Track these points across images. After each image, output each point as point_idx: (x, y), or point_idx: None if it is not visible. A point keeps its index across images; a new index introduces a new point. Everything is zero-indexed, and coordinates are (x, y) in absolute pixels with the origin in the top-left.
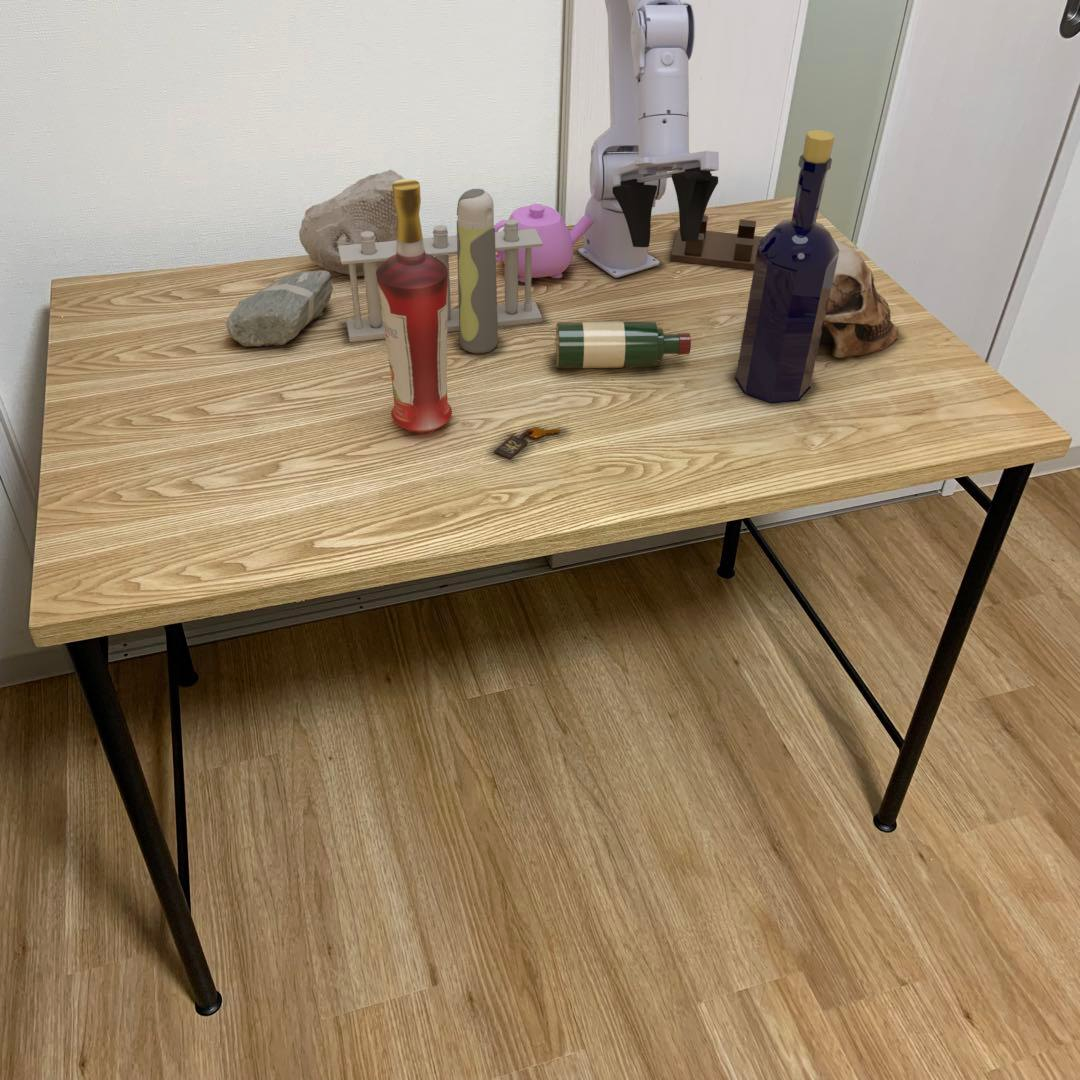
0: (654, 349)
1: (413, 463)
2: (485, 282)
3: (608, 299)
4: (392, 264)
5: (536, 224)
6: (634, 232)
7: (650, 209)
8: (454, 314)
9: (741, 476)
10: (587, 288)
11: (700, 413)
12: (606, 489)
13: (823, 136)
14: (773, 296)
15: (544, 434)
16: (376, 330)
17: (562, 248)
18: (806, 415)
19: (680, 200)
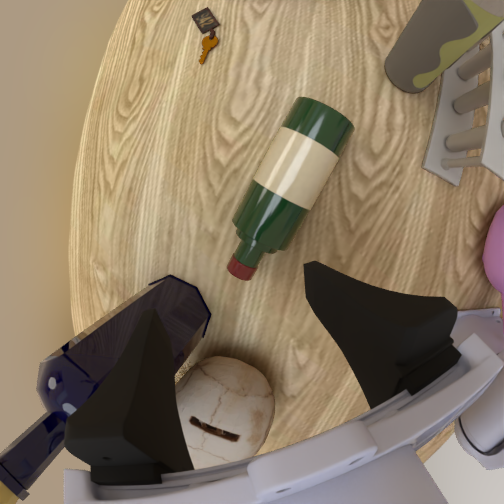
0: (234, 215)
1: None
2: (413, 22)
3: (418, 277)
4: None
5: None
6: (319, 275)
7: (352, 364)
8: (465, 87)
9: (87, 189)
10: (450, 270)
11: (161, 213)
12: (120, 77)
13: None
14: (85, 333)
15: (202, 48)
16: None
17: (499, 265)
18: (126, 295)
19: (127, 374)
